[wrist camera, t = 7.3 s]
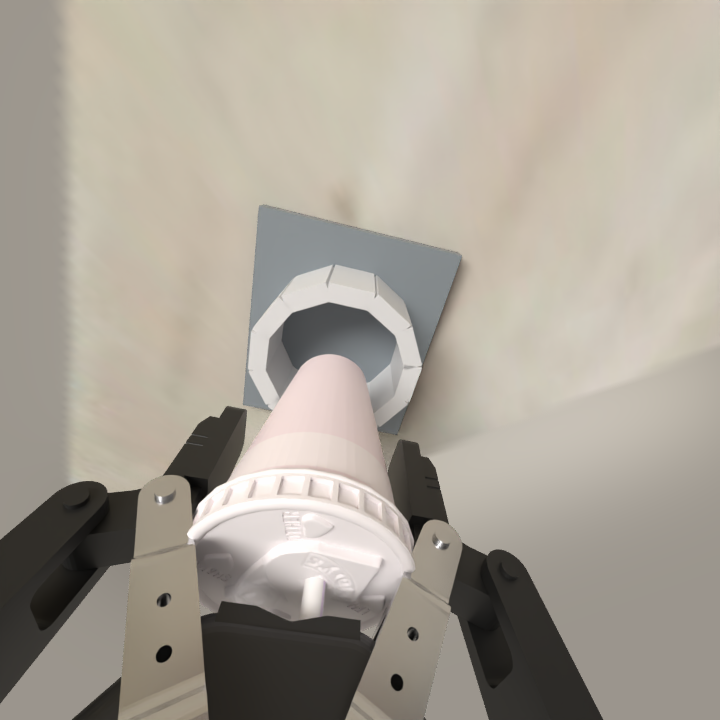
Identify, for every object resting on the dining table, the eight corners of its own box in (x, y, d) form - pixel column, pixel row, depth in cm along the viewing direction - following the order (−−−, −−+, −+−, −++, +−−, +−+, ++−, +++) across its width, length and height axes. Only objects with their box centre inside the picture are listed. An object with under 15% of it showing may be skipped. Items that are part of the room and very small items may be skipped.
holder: (458, 252, 21) (482, 272, 16) (396, 426, 27) (401, 474, 23) (263, 204, 20) (234, 211, 15) (247, 397, 26) (222, 441, 22)
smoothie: (410, 412, 18) (504, 906, 6) (305, 447, 19) (199, 912, 7) (362, 308, 15) (350, 819, 3) (244, 357, 17) (-100, 856, 4)
